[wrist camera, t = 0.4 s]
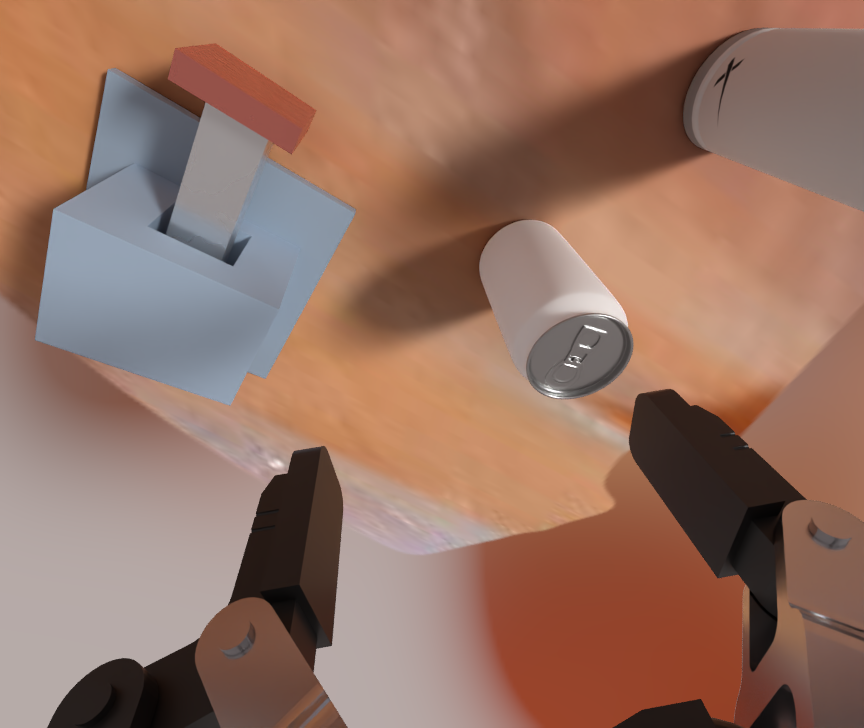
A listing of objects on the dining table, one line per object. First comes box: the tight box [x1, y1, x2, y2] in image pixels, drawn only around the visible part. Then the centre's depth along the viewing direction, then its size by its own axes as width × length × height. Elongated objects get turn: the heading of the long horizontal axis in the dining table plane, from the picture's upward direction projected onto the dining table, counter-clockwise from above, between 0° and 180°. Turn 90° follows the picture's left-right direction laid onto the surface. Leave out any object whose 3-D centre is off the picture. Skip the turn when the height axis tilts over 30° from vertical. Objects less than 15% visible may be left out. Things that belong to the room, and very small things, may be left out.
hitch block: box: [35, 68, 356, 405], centre depth 26 cm, size 16×14×9 cm
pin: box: [166, 43, 316, 263], centre depth 23 cm, size 13×5×5 cm, turn 146°
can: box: [479, 220, 633, 399], centre depth 27 cm, size 6×6×12 cm
